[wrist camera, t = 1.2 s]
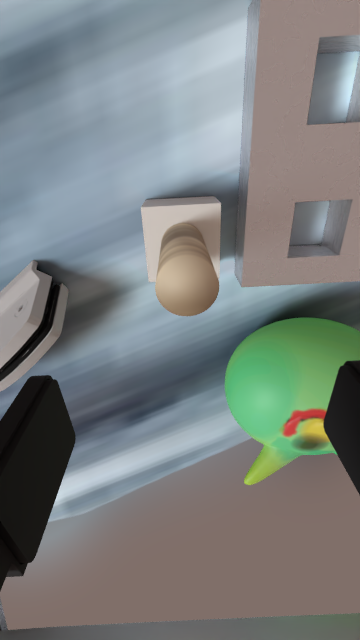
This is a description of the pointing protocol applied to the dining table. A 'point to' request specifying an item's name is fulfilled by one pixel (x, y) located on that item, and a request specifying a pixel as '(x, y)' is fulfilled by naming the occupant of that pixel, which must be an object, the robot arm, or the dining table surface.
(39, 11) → the dining table surface
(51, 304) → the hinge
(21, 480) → the robot arm
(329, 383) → the toy bird
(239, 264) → the plate
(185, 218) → the beige square block
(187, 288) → the peg
